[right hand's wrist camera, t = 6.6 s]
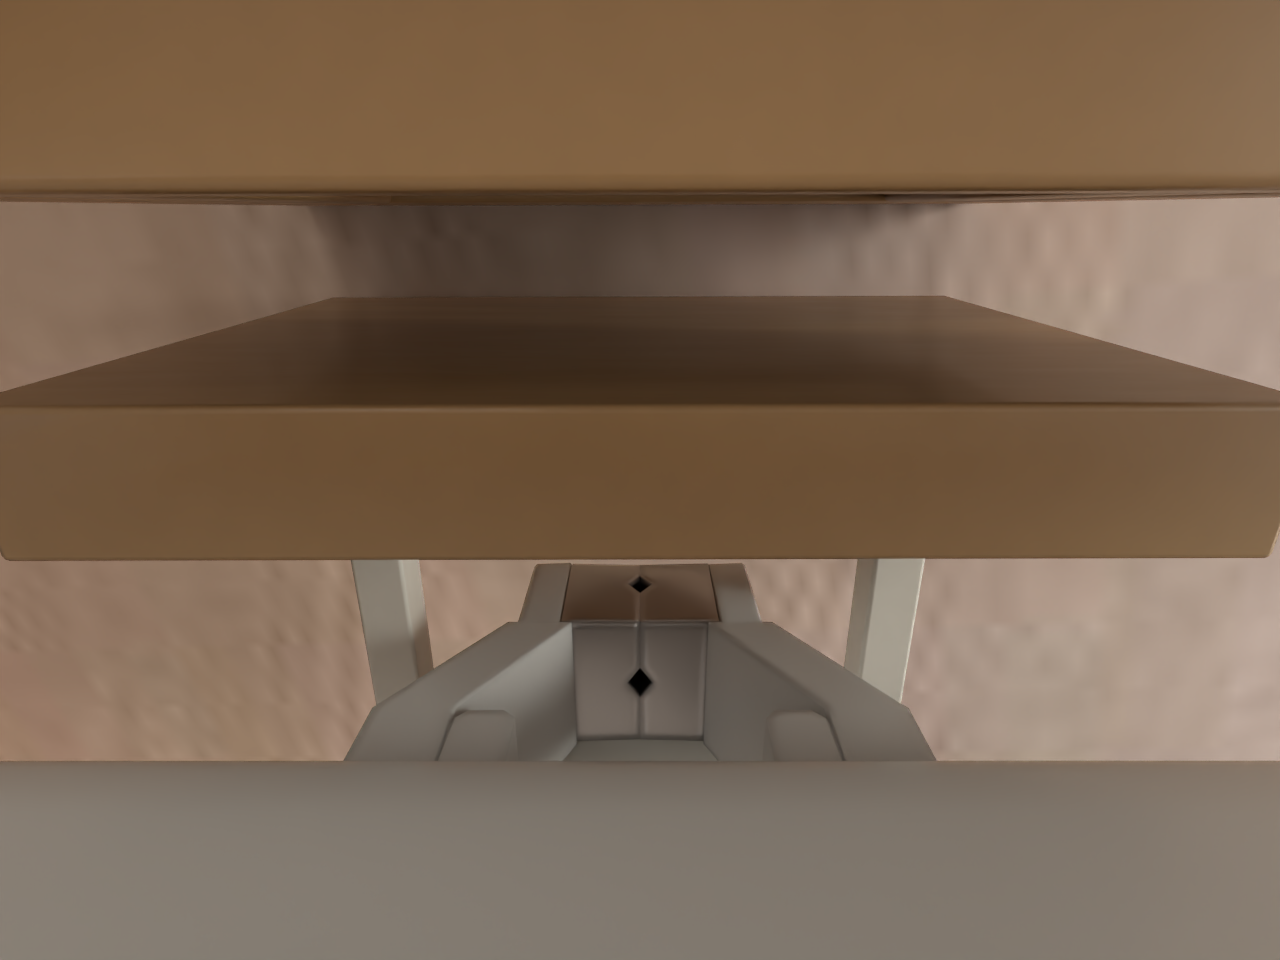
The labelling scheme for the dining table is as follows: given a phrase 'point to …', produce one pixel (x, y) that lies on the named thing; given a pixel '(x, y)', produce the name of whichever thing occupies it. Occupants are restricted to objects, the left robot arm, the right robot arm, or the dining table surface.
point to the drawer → (639, 444)
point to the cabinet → (637, 98)
